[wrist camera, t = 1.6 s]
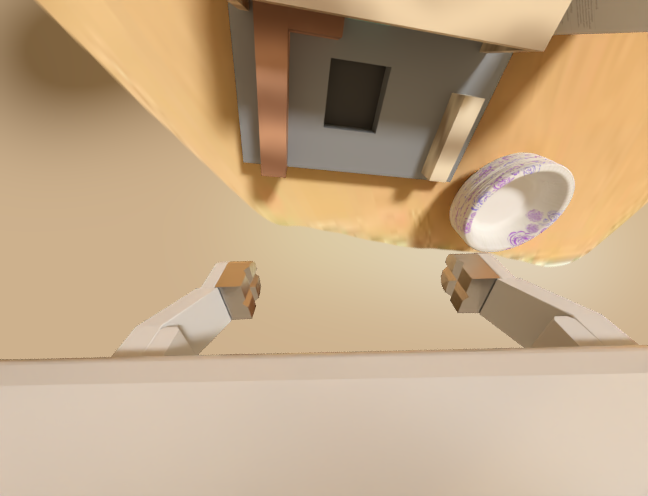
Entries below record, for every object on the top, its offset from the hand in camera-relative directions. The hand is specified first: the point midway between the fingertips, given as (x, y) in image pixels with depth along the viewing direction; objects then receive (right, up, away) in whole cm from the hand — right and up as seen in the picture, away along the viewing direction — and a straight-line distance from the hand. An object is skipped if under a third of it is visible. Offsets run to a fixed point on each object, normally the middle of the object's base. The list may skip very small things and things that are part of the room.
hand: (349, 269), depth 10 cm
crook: (-4, +19, +18) cm, 26 cm away
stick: (+15, +16, +21) cm, 31 cm away
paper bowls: (+27, +11, +30) cm, 42 cm away
